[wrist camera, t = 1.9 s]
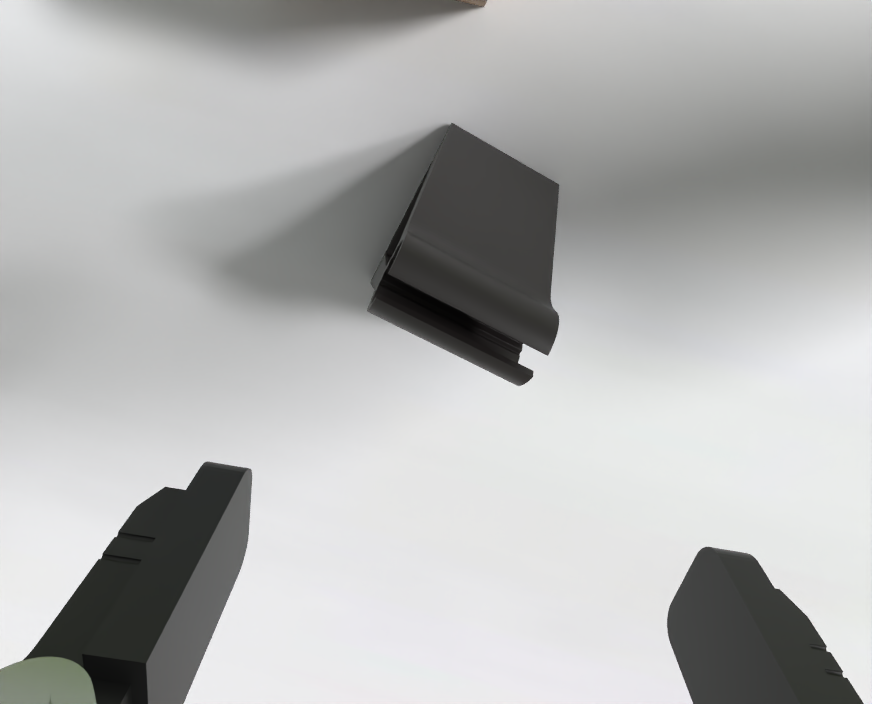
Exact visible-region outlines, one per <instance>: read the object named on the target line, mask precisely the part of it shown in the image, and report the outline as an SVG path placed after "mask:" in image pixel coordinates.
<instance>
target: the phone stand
mask: <svg viewBox="0 0 872 704" xmlns="http://www.w3.org/2000/svg"><path fill="white" fill-rule="evenodd" d="M558 192H559V185H558V184H557V183H555V182H553V181H552V180H550V179H548V178H546V177H545V176H543V175H541V174H539V173H538V172H536V171H534V170H533V169H531V168H529V167H527V166H526V165H524V164H522V163H520V162H519V161H517V160H515V159H514V158H512V157H510V156H508V155H507V154H505V153H503V152H501V151H500V150H498V149H496V148H494V147H493V146H491V145H489V144H488V143H486V142H484V141H482V140H481V139H479V138H477V137H475V136H474V135H472V134H470V133H469V132H467V131H465V130H463V129H462V128H460V127H458V126H456V125H455V124H453V123H451V125H450V127H449V129H448V131H447V133H446V135H445V137H444V139H443V141H442V143H441V145H440V147H439V149H438V151H437V153H436V155H435V156H434V158H433V160H432V162H431V164H430V166H429V168H428V170H427V172H426V174H425V176H424V178H423V180H422V182H421V184H420V186H419V188H418V190H417V192H416V194H415V196H414V198H413V200H412V202H411V204H410V206H409V208H408V210H407V211H406V213H405V215H404V217H403V219H402V221H401V223H400V225H399V227H398V229H397V231H396V233H395V235H394V237H393V239H392V241H391V243H390V245H389V247H388V249H387V251H386V253H385V255H384V257H383V259H382V261H381V263H380V265H379V267H378V268H377V270H376V272H375V274H374V276H373V278H372V281H371V285H372V286H373V288H374V290H375V291H374V294H373V297H372V299H371V302H370V304H369V307H368V310H367V311H368V312H370V313H372V314H374V315H376V316H378V317H380V318H382V319H384V320H386V321H388V322H390V323H392V324H394V325H396V326H398V327H400V328H402V329H404V330H406V331H408V332H410V333H412V334H414V335H416V336H418V337H420V338H422V339H424V340H426V341H428V342H430V343H432V344H434V345H436V346H438V347H440V348H443V349H445V350H447V351H449V352H451V353H453V354H455V355H457V356H459V357H461V358H463V359H465V360H467V361H469V362H471V363H473V364H475V365H477V366H479V367H481V368H483V369H485V370H487V371H489V372H491V373H493V374H495V375H497V376H499V377H501V378H503V379H505V380H507V381H509V382H511V383H513V384H515V385H517V386H521V385H523V384H525V383H527V382H528V381H529V380H530V379H531V378H532V377H533V371H532V370H530V369H528V368H526V367H524V366H522V365H520V364H518V360H519V357H520V356H519V354H520V352H521V351H522V344H523V343H524V344H526V345H528V346H530V347H532V348H534V349H536V350H538V351H540V352H541V353H543V354H545V355H547V356H548V354H549V352H550V350H551V348H552V346H553V343H554V341H555V338H556V335H557V331H558V326H559V315H558V313H557V312H556V311H555V310H554V309H553V307H552V304H551V281H552V269H553V256H554V243H555V230H556V218H557V205H558Z"/></svg>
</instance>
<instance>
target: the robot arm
mask: <svg viewBox="0 0 872 704" xmlns="http://www.w3.org/2000/svg"><path fill="white" fill-rule="evenodd" d="M251 486H252V472H251V469H249V468H243V467H237V466H231V465H225V464H219V463H213V462H205V463H204V464H203V465H202V466H201V467H200V469H199V470H198V472H197V474H196V475H195V477H194V478H193V480H192V482H191V483H190V485H189V486H188V488H187V489H186V490H181V489H175V488H169V487H164V488H163V489H162V490H160V491H159V492H157V493H156V494H154V495H153V496H151V497H150V498H148V499H147V500H145V501H144V502H143V503H141V504H140V505H138V506H137V507H136V508H135V510H134V511H133V512H132V514H131V515H130V517H129V518H128V519H127V521H126V522H125V524H124V525H123V526H122V528H121V529H120V530H119V532H118V536H117V537H114V539H113V540H112V541H111V543H110V544H109V546H108V547H107V548H106V550H105V551H104V552H103V556H102V558H101V559H98V561H97V562H96V564H95V565H94V566H93V568H92V569H91V570H90V572H89V573H88V575H87V576H86V577H85V579H84V580H83V581H82V583H81V584H80V586H79V587H78V588H77V590H76V591H75V592H74V594H73V595H72V597H71V598H70V599H69V601H68V602H67V604H66V605H65V606H64V608H63V609H62V610H61V612H60V613H59V615H58V616H57V617H56V619H55V620H54V621H53V623H52V624H51V626H50V627H49V628H48V630H47V631H46V632H45V634H44V635H43V637H42V638H41V639H40V641H39V642H38V644H37V645H36V646H35V647H34V649H33V650H32V651H31V652H30V653H29V655H28V656H27V657H26V658H25V659H24V660H23V661H20V662H17V663H14V664H12V665H9V666H7V667H5V668H2V669H0V704H183V703H184V701H185V699H186V696H187V694H188V692H189V689H190V687H191V685H192V682H193V680H194V677H195V675H196V673H197V670H198V668H199V666H200V663H201V661H202V659H203V656H204V654H205V652H206V649H207V647H208V645H209V642H210V640H211V638H212V635H213V633H214V631H215V628H216V626H217V623H218V621H219V619H220V616H221V614H222V612H223V609H224V607H225V605H226V602H227V600H228V598H229V595H230V593H231V591H232V588H233V586H234V584H235V581H236V579H237V577H238V574H239V572H240V569H241V566H242V563H243V560H244V556H245V552H246V548H247V542H248V535H249V519H250V503H251ZM667 628H668V636H669V640H670V643H671V646H672V649H673V651H674V654H675V656H676V659H677V662H678V664H679V667H680V670H681V672H682V675H683V678H684V680H685V683H686V686H687V688H688V691H689V693H690V696H691V699H692V701H693V704H864V703H863V702H862V700H861V699H860V697H859V696H858V694H857V693H856V691H855V690H854V688H853V686H852V685H851V683H850V682H849V680H848V679H847V678H844V677H843V675H842V672H843V671H842V669H841V668H840V666H839V665H838V663H837V662H836V660H835V659H834V657H833V656H832V654H831V652H827V651H826V647H827V646H826V645H825V643H824V642H823V640H822V639H821V637H820V635H819V634H818V632H817V631H816V629H815V628H814V626H813V625H812V623H811V622H810V620H809V618H808V617H807V616H806V615H805V614H804V613H803V612H802V611H801V610H800V609H799V608H798V607H797V606H796V605H795V604H794V603H793V602H792V601H791V600H790V599H789V598H788V597H787V596H786V595H785V594H784V593H783V592H782V591H781V590H780V589H775V588H774V587H773V585H772V584H771V582H770V580H769V579H768V577H767V575H766V574H765V572H764V571H763V569H762V567H761V566H760V564H759V563H758V561H757V560H756V559H755V558H754V557H753V556H752V555H750V554H747V553H742V552H736V551H730V550H724V549H718V548H712V547H705V548H702V549H701V550H700V551H699V552H698V554H697V555H696V557H695V559H694V561H693V563H692V565H691V567H690V568H689V570H688V572H687V574H686V576H685V578H684V580H683V582H682V584H681V585H680V587H679V589H678V591H677V593H676V595H675V597H674V599H673V601H672V603H671V605H670V608H669V611H668V619H667Z"/></svg>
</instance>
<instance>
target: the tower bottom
mask: <svg viewBox="0 0 872 704" xmlns="http://www.w3.org/2000/svg"><path fill="white" fill-rule="evenodd" d="M456 1H460V2H465V3H469V4H474V5H478V6H483V7H484V6H485V4H486V2H487V0H456Z"/></svg>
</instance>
